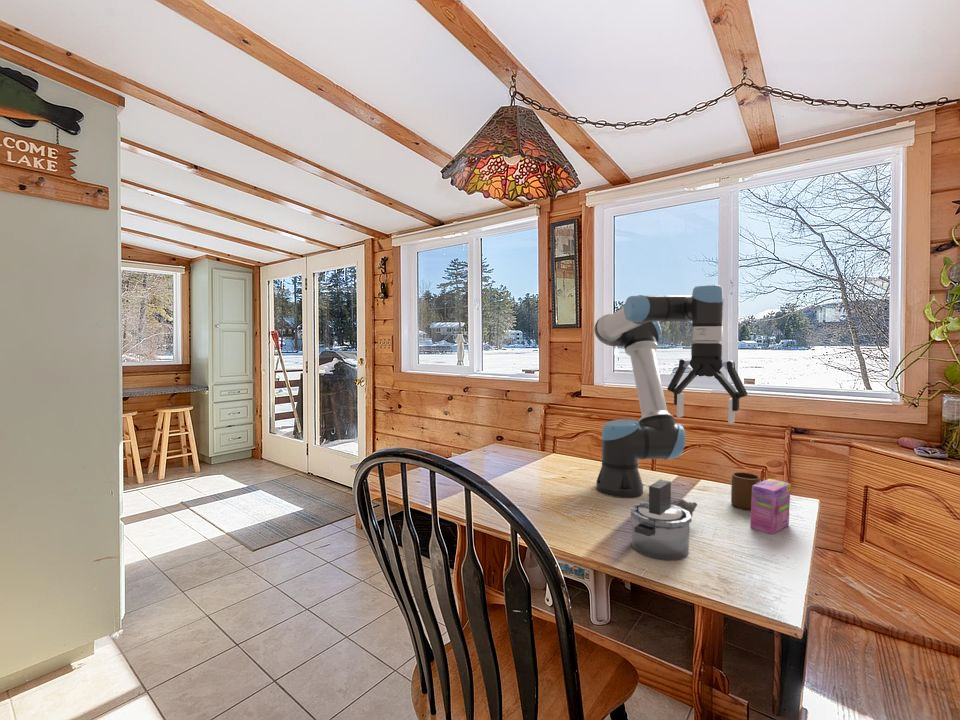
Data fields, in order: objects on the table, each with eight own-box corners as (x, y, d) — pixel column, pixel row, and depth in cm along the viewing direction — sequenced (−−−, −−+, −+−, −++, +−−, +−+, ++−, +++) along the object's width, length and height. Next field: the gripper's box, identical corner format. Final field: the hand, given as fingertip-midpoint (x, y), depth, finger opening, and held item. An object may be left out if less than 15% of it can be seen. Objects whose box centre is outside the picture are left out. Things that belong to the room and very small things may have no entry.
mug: (777, 515, 137) (778, 483, 136) (754, 517, 135) (755, 484, 135) (746, 501, 148) (747, 471, 148) (725, 502, 147) (726, 472, 147)
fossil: (678, 516, 136) (679, 488, 136) (705, 527, 128) (706, 498, 128) (649, 522, 131) (650, 494, 131) (675, 535, 123) (676, 505, 123)
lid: (631, 516, 115) (631, 484, 115) (648, 505, 122) (648, 475, 122) (673, 526, 108) (673, 493, 108) (688, 514, 116) (688, 482, 115)
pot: (614, 550, 114) (615, 514, 114) (650, 529, 127) (651, 496, 126) (670, 570, 104) (671, 530, 104) (702, 545, 117) (703, 509, 117)
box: (772, 535, 123) (774, 490, 123) (749, 528, 128) (751, 484, 127) (789, 525, 129) (791, 483, 129) (767, 519, 134) (768, 478, 133)
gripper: (656, 342, 135) (654, 415, 136) (752, 343, 117) (750, 427, 119) (667, 341, 141) (666, 412, 142) (762, 342, 123) (759, 423, 124)
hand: (704, 419), depth 130 cm, fingers open, 13 cm apart
